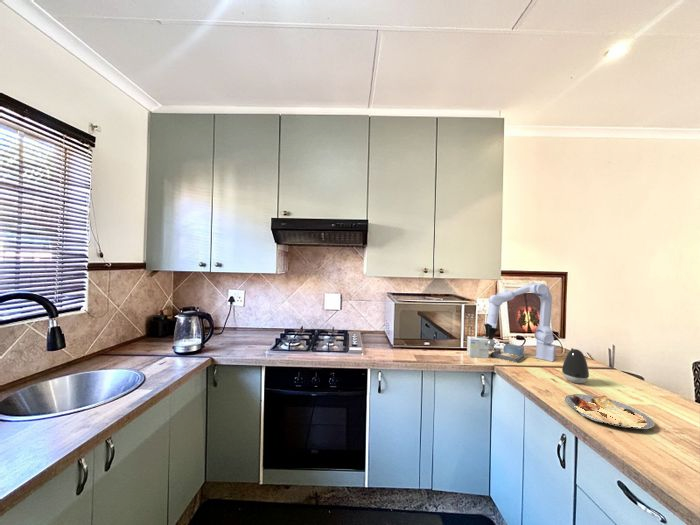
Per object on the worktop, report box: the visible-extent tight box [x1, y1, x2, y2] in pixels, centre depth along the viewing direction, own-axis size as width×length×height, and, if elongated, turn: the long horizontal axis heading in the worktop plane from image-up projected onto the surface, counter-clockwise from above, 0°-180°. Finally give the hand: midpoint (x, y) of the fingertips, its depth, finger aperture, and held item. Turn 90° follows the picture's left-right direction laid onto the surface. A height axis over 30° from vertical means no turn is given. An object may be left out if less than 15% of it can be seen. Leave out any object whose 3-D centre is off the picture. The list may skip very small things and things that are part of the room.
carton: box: [503, 343, 525, 357], centre depth 188 cm, size 9×8×4 cm
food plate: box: [564, 393, 655, 430], centre depth 113 cm, size 25×23×4 cm
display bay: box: [490, 348, 525, 364], centre depth 180 cm, size 14×13×2 cm
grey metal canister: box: [487, 338, 496, 351], centre depth 195 cm, size 5×5×6 cm
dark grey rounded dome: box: [561, 347, 590, 384], centre depth 145 cm, size 10×10×15 cm
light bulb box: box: [466, 335, 490, 359], centre depth 180 cm, size 11×7×11 cm, turn 84°
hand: (489, 337), depth 183 cm, fingers open, 7 cm apart
